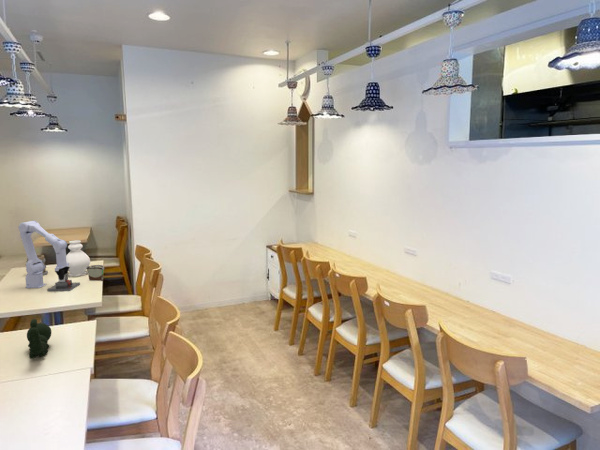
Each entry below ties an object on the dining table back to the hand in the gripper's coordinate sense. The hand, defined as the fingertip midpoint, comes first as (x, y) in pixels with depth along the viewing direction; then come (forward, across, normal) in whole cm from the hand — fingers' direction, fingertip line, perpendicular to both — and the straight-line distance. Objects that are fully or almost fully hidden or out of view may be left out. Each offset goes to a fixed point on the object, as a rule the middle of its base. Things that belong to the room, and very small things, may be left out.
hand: (63, 278), depth 272 cm
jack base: (+6, 0, 0) cm, 6 cm away
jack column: (+4, 0, 0) cm, 4 cm away
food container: (+6, +19, -14) cm, 24 cm away
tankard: (+7, +31, +35) cm, 47 cm away
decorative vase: (+6, +34, +7) cm, 35 cm away
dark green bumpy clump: (+6, -94, -36) cm, 101 cm away
